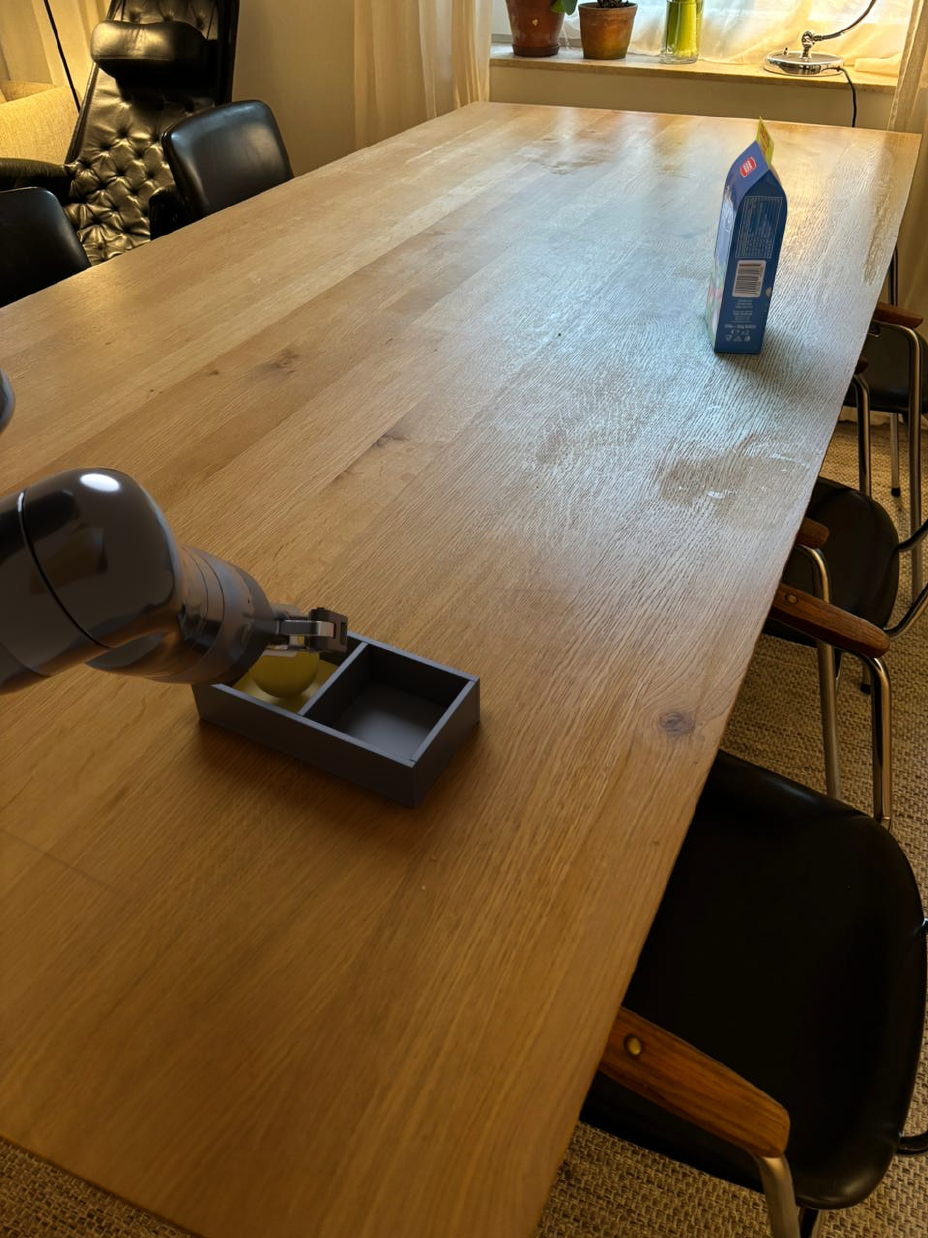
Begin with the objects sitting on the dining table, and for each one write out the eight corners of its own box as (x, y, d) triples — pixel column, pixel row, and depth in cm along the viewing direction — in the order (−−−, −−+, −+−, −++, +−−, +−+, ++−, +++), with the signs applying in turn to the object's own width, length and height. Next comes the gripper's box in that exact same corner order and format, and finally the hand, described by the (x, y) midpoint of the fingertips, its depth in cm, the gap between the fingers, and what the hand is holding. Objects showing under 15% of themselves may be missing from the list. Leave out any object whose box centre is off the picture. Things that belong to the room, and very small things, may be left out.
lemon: (336, 699, 79) (326, 623, 74) (273, 728, 77) (258, 652, 71) (304, 661, 82) (292, 585, 77) (243, 687, 80) (226, 611, 75)
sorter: (415, 810, 71) (412, 768, 68) (199, 718, 79) (188, 676, 76) (480, 718, 78) (480, 677, 75) (276, 642, 85) (268, 601, 82)
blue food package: (749, 315, 136) (786, 116, 119) (761, 354, 126) (803, 144, 110) (703, 314, 136) (733, 115, 120) (711, 352, 127) (745, 143, 111)
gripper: (316, 554, 55) (362, 587, 71) (66, 545, 56) (167, 580, 72) (308, 689, 54) (356, 692, 71) (56, 678, 55) (160, 683, 71)
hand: (260, 635), depth 71 cm, fingers open, 8 cm apart
